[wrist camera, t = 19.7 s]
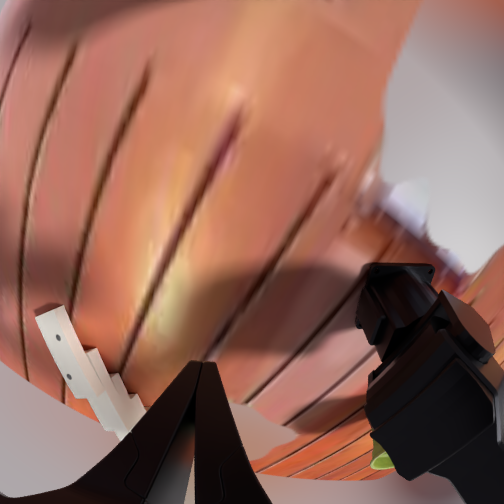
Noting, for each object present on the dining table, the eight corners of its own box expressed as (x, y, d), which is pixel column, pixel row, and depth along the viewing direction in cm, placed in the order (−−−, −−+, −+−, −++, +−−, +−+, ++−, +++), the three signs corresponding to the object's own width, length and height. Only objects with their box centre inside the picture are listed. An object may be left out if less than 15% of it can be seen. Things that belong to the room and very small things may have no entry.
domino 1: (63, 305, 24) (105, 390, 25) (44, 313, 25) (83, 392, 26) (52, 309, 23) (97, 398, 24) (34, 317, 23) (75, 399, 24)
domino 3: (118, 372, 29) (153, 441, 28) (96, 375, 29) (129, 440, 29) (110, 377, 27) (147, 448, 27) (88, 380, 28) (123, 446, 27)
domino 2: (97, 347, 27) (135, 424, 27) (76, 352, 28) (112, 424, 28) (88, 352, 25) (128, 431, 25) (67, 356, 26) (105, 430, 26)
